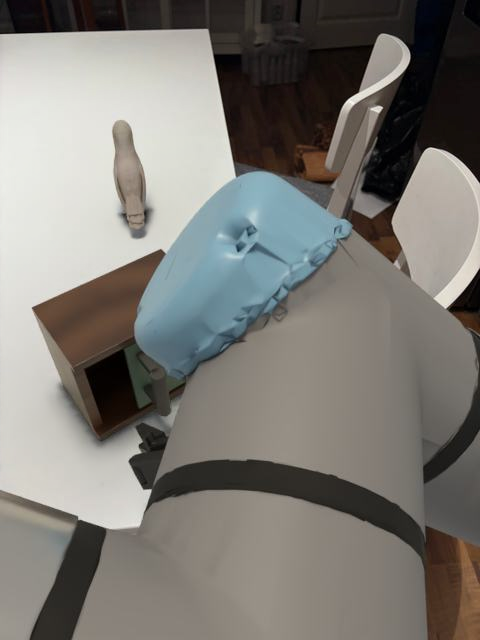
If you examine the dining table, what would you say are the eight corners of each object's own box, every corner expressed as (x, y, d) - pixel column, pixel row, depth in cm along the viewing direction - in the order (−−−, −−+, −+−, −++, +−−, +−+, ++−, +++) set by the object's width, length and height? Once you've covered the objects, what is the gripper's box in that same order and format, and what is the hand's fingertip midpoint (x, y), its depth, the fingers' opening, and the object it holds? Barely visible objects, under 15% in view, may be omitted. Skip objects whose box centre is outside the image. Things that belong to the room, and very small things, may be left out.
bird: (146, 190, 94) (134, 109, 83) (154, 237, 86) (142, 153, 75) (118, 193, 94) (103, 112, 83) (124, 240, 85) (107, 156, 74)
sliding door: (210, 402, 63) (207, 341, 54) (159, 435, 60) (146, 376, 51) (188, 375, 65) (181, 314, 57) (137, 405, 62) (122, 345, 54)
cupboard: (213, 373, 67) (210, 296, 57) (100, 441, 60) (72, 367, 50) (171, 327, 72) (161, 248, 62) (63, 384, 66) (31, 307, 55)
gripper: (197, 618, 27) (108, 509, 46) (487, 377, 37) (316, 370, 56) (130, 494, 26) (67, 435, 45) (449, 282, 36) (288, 307, 55)
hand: (206, 398), depth 51 cm, fingers open, 13 cm apart
